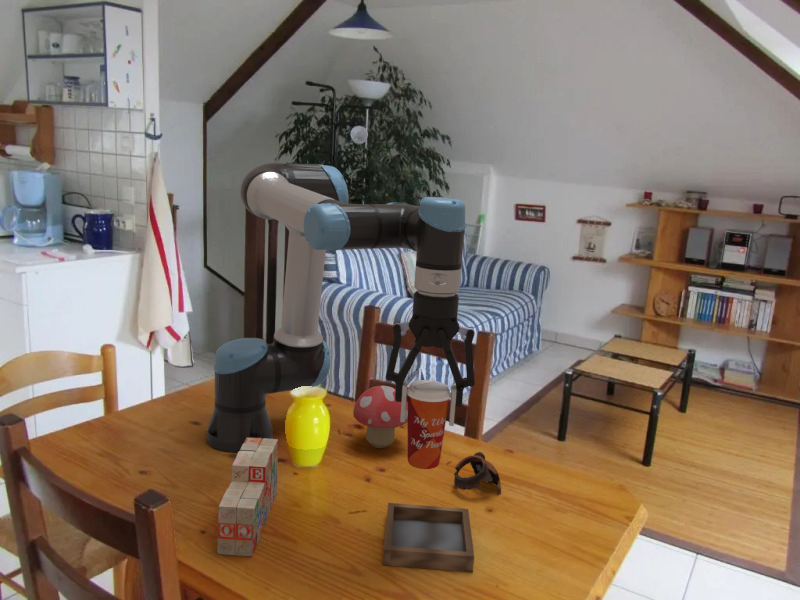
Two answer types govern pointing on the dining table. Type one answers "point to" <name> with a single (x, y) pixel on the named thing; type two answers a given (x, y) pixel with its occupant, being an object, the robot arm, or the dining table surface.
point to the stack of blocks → (248, 497)
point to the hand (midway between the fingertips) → (426, 420)
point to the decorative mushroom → (379, 414)
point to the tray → (428, 537)
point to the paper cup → (426, 422)
